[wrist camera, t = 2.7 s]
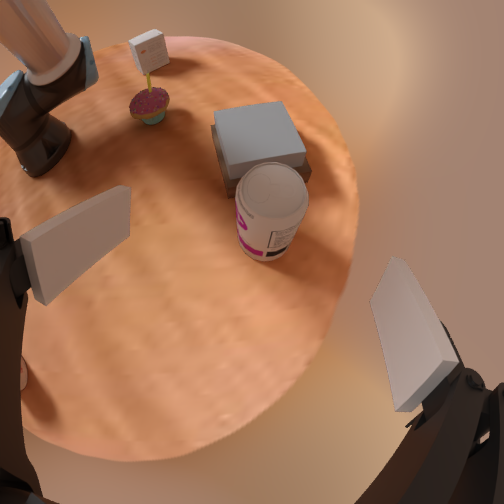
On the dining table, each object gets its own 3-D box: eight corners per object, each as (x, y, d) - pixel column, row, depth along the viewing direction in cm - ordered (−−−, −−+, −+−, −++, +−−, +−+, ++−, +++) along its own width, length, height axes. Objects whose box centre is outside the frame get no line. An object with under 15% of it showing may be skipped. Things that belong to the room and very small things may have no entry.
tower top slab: (215, 126, 45) (213, 111, 41) (279, 116, 46) (281, 101, 42) (230, 179, 42) (228, 165, 38) (302, 165, 43) (306, 151, 39)
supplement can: (235, 260, 41) (230, 220, 27) (241, 210, 44) (239, 154, 30) (288, 265, 41) (311, 228, 27) (291, 215, 44) (311, 162, 30)
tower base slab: (212, 139, 49) (210, 125, 45) (282, 126, 50) (284, 113, 46) (228, 200, 45) (227, 188, 41) (306, 183, 46) (311, 171, 43)
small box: (162, 56, 58) (155, 28, 48) (170, 63, 57) (163, 32, 46) (136, 69, 56) (127, 40, 46) (143, 76, 55) (134, 45, 45)
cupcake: (153, 101, 52) (140, 61, 40) (181, 109, 51) (171, 66, 39) (128, 126, 49) (110, 86, 38) (156, 136, 48) (139, 93, 37)
